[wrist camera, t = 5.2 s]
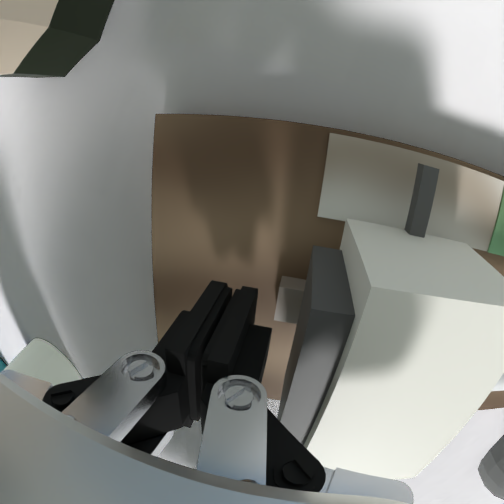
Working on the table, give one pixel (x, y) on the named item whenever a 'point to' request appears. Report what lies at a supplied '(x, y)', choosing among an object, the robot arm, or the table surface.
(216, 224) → the base
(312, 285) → the white block grey face
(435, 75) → the table surface
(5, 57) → the wine bottle
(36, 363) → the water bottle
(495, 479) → the baseball cap
